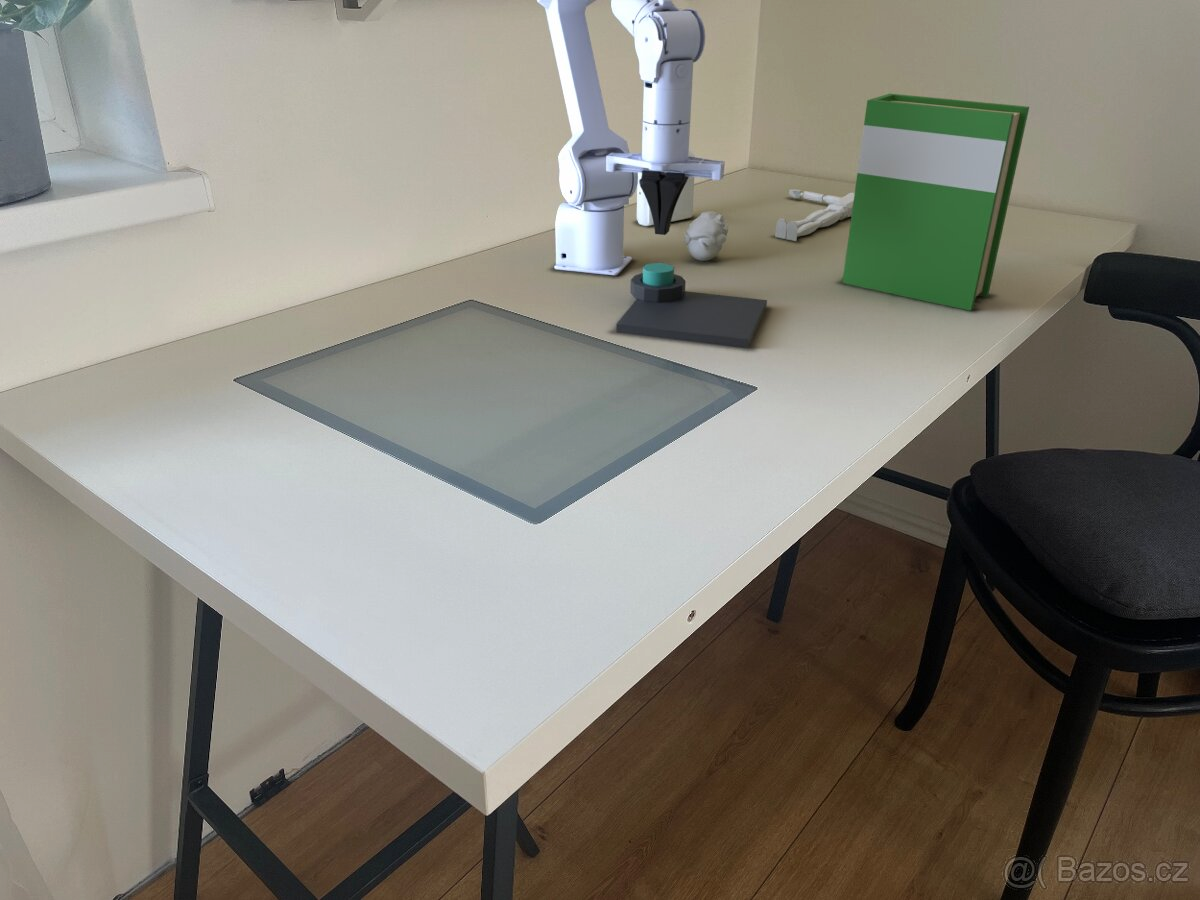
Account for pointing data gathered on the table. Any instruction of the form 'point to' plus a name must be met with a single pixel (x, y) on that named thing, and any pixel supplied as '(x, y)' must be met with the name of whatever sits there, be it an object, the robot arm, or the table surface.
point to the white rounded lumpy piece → (706, 235)
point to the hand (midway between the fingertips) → (662, 232)
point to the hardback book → (932, 196)
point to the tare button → (658, 274)
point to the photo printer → (681, 209)
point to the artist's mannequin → (816, 215)
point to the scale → (691, 314)
